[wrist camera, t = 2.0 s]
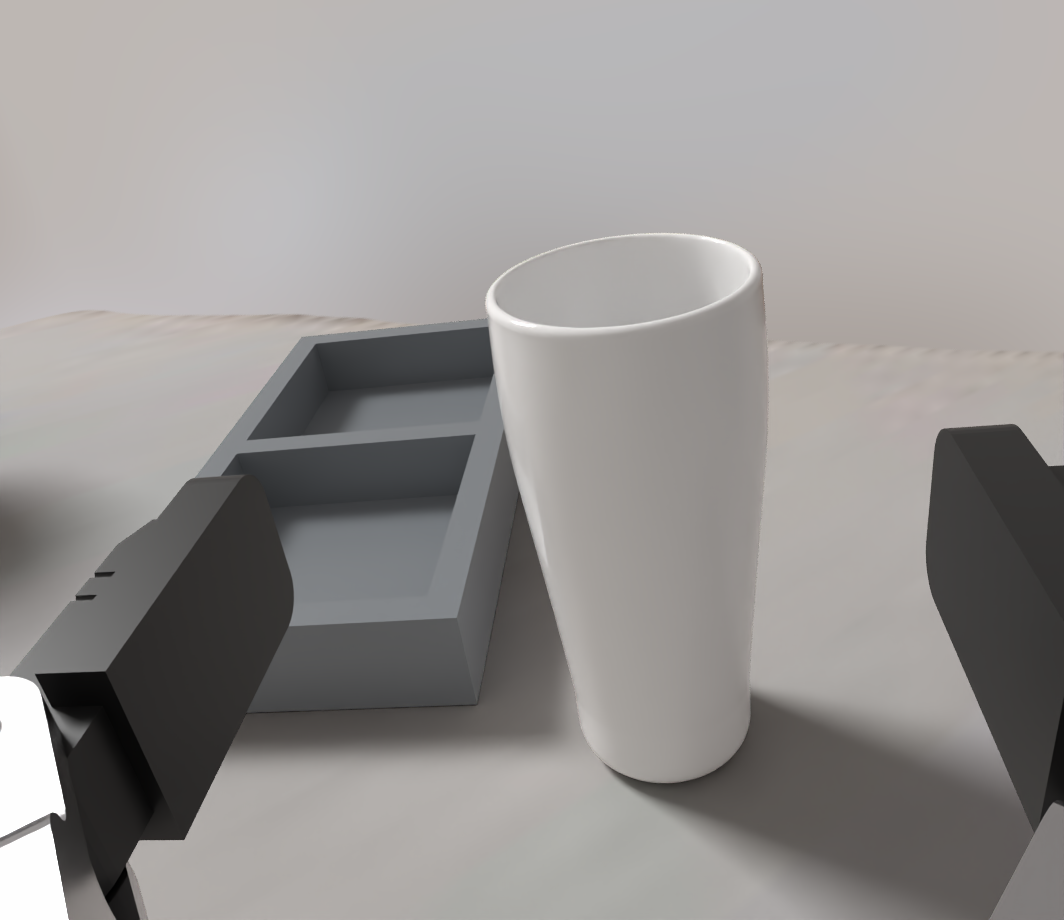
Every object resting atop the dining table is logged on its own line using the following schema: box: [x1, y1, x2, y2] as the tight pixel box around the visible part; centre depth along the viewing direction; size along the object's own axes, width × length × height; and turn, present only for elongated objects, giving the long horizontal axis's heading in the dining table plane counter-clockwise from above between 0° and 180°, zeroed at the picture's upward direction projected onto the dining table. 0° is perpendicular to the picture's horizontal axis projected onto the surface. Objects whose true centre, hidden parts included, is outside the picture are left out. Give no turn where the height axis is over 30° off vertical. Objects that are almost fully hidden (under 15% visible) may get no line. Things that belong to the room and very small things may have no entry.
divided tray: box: [195, 319, 519, 713], centre depth 43 cm, size 13×26×4 cm, turn 175°
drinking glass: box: [485, 233, 769, 783], centre depth 26 cm, size 7×7×15 cm
